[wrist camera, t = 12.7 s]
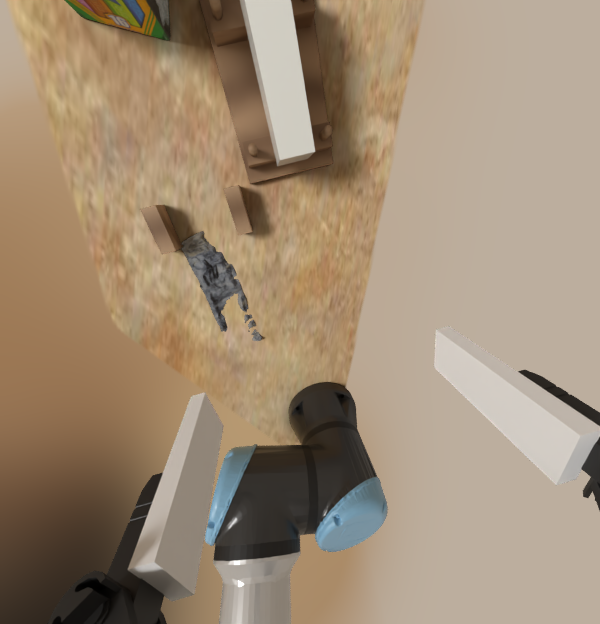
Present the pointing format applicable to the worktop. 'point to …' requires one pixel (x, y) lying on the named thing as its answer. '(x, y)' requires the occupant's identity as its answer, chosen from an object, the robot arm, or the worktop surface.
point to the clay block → (279, 77)
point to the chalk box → (128, 14)
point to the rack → (246, 93)
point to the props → (166, 232)
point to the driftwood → (215, 278)
